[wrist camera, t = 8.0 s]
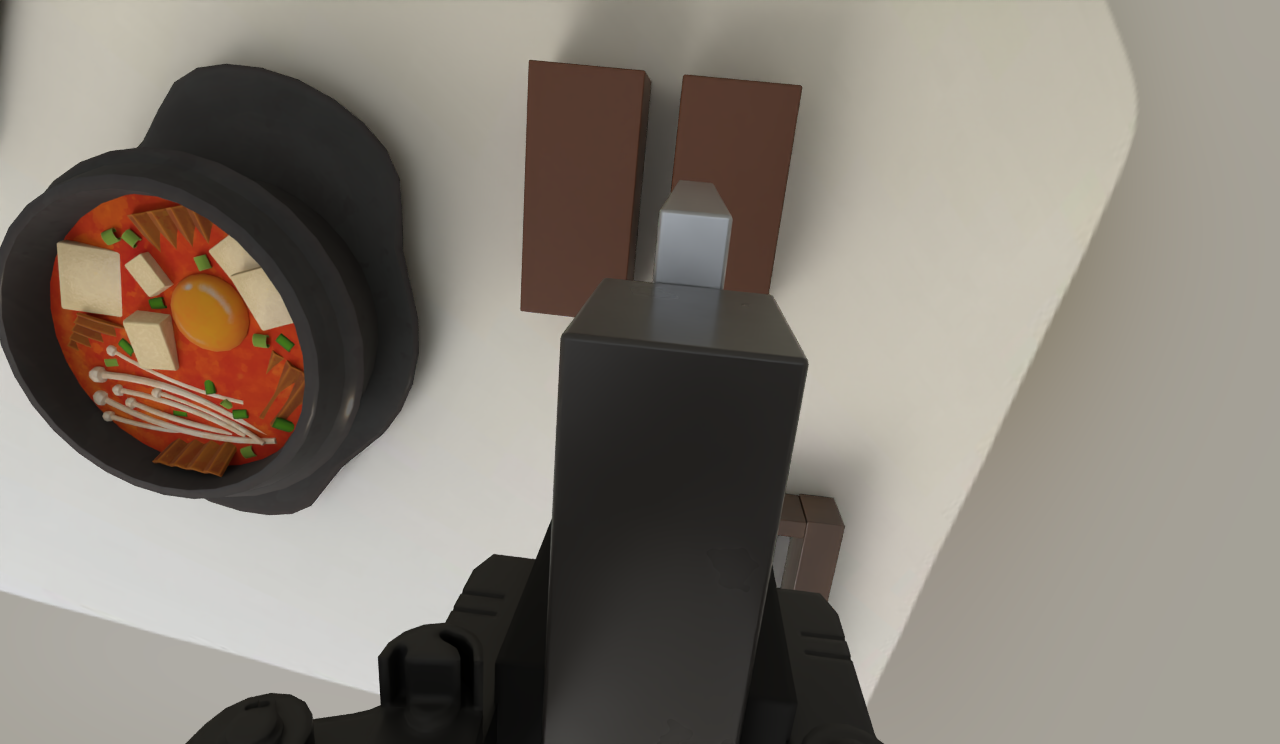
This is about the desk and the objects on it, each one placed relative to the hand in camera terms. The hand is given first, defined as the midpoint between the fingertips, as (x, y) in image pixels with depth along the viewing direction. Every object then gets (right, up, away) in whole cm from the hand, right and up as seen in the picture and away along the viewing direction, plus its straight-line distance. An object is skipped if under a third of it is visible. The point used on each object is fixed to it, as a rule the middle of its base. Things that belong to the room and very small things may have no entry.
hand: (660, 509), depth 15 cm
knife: (+1, +2, +6) cm, 6 cm away
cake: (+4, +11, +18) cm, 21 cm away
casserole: (-21, +7, +22) cm, 31 cm away
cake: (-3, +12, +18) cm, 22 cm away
